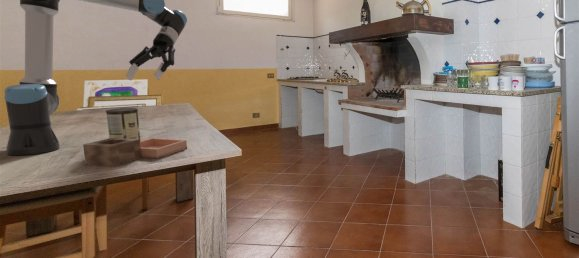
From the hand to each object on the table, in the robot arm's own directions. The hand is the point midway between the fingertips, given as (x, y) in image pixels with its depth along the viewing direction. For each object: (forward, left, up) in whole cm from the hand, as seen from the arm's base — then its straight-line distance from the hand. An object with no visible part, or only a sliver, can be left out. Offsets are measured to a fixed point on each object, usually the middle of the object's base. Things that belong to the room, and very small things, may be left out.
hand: (142, 77), depth 130 cm
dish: (+15, -13, -25) cm, 32 cm away
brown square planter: (+11, -26, -25) cm, 38 cm away
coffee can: (0, -11, -25) cm, 27 cm away
